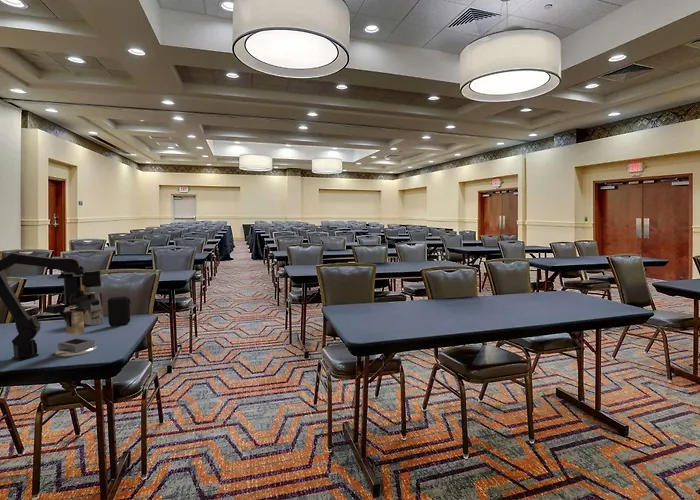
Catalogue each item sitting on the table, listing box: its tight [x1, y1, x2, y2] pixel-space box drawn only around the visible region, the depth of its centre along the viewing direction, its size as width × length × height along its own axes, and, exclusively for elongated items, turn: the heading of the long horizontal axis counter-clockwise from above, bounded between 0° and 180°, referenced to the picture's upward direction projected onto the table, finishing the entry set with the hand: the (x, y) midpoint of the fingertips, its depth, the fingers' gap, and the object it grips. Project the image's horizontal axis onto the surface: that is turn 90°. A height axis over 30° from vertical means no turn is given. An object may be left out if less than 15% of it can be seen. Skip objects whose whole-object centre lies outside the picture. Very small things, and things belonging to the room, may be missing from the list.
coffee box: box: [84, 291, 104, 326], centre depth 212 cm, size 9×6×16 cm
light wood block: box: [65, 309, 85, 336], centre depth 168 cm, size 4×6×9 cm, turn 67°
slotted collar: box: [54, 337, 98, 358], centre depth 169 cm, size 14×14×4 cm
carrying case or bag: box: [107, 295, 132, 327], centre depth 208 cm, size 11×3×15 cm, turn 127°
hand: (74, 325), depth 168 cm, fingers closed on light wood block, 3 cm apart
